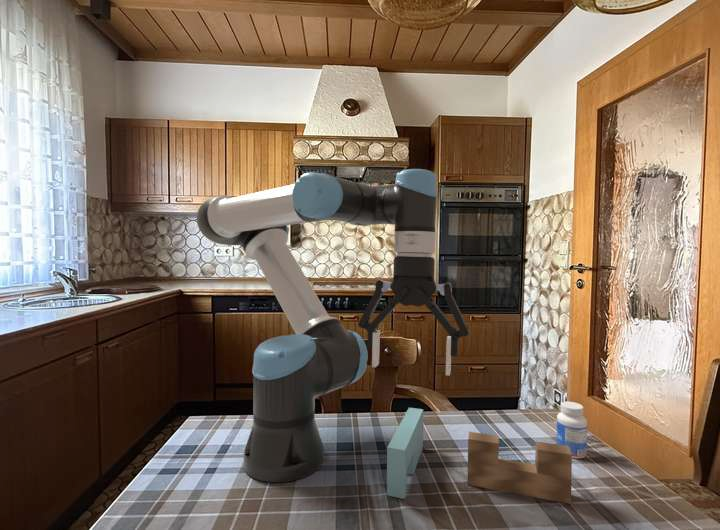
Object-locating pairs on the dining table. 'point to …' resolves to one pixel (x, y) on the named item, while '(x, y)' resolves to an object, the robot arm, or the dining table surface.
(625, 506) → the dining table surface
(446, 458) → the dining table surface
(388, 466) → the teal bridge block
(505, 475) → the brown u-shaped block
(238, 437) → the dining table surface
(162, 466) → the dining table surface
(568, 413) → the pill bottle
